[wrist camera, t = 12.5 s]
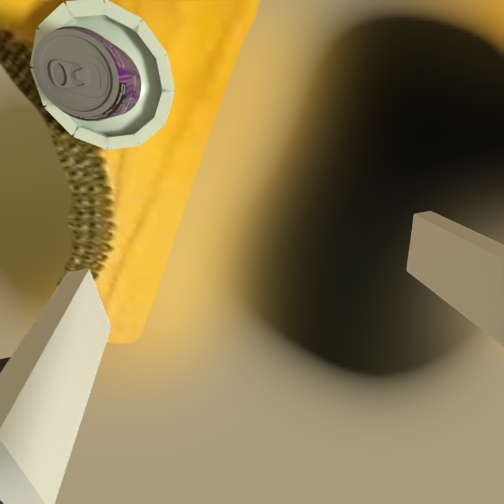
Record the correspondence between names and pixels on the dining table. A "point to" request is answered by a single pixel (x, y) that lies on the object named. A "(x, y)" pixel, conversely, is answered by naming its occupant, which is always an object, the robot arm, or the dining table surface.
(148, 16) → the dining table surface
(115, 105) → the beverage can
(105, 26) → the tray
